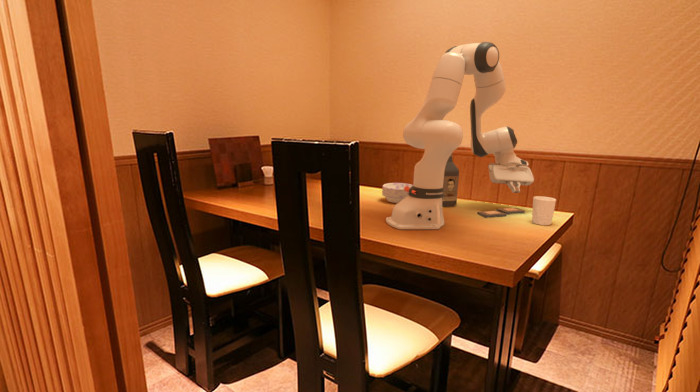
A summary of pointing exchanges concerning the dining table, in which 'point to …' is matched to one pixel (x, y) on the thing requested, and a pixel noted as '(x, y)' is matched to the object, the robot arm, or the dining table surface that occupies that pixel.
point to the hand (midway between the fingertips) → (516, 192)
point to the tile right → (510, 210)
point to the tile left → (491, 214)
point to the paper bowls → (395, 191)
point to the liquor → (450, 183)
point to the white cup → (543, 210)
